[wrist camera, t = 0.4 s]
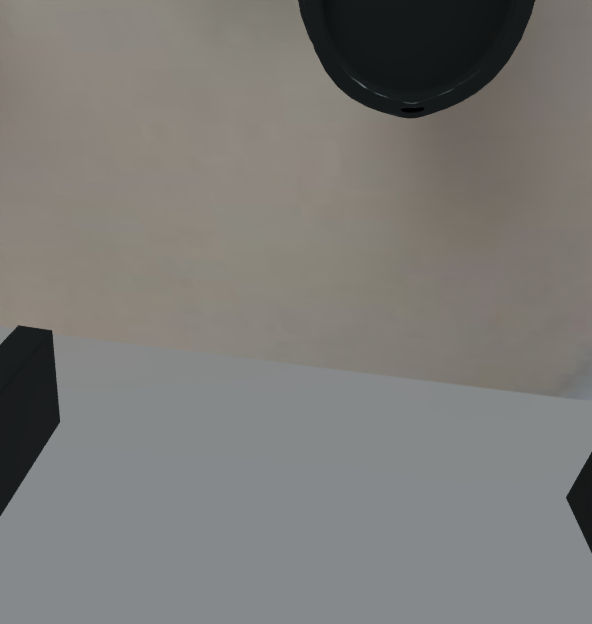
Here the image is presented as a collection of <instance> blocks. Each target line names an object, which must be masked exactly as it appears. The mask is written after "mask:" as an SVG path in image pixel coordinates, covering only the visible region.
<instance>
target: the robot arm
mask: <svg viewBox="0 0 592 624" xmlns="http://www.w3.org/2000/svg"><path fill="white" fill-rule="evenodd" d="M59 423H60V415H59V404H58V392H57V382H56V370H55V358H54V347H53V335H52V330H45V329H39V328H32V327H26V326H19V325H18V326H17V328H16V329H15V330H14V331H13V332H12V333H11V334H10V335H9V336H8V337H7V338H6V339H5V340H4V341H3V342H2V344H1V345H0V516H1V514H2V513H3V511H4V509H5V508H6V506H7V505H8V503H9V502H10V500H11V499H12V497H13V495H14V494H15V492H16V491H17V489H18V487H19V486H20V484H21V483H22V481H23V480H24V478H25V476H26V475H27V473H28V471H29V470H30V468H31V467H32V465H33V464H34V462H35V461H36V459H37V457H38V456H39V454H40V453H41V451H42V450H43V448H44V446H45V445H46V443H47V442H48V440H49V438H50V437H51V435H52V434H53V432H54V431H55V429H56V427H57V426H58V424H59ZM566 498H567V501H568V503H569V505H570V507H571V509H572V511H573V514H574V516H575V518H576V520H577V522H578V524H579V526H580V529H581V531H582V533H583V535H584V537H585V539H586V542H587V544H588V546H589V548H590V550H591V552H592V453H591V454H590V456H589V458H588V460H587V461H586V463H585V465H584V467H583V468H582V470H581V472H580V474H579V475H578V477H577V479H576V481H575V483H574V484H573V486H572V488H571V490H570V492H569V493H568V495H567V497H566Z"/></svg>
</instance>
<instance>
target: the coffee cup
mask: <svg viewBox="0 0 592 624" xmlns="http://www.w3.org/2000/svg"><path fill="white" fill-rule="evenodd" d="M298 2H299V7H300V13H301V17H302V19H303V22H304V25H305V27H306V30H307V33H308V36H309V38H310V40H311V42H312V43H313V45H314V49H315V52H316V54H317V55H318V57H319V59H320V61H321V63H322V65H323V67H324V69H325V71H326V72H327V74H328V75H329V76H330V78H331V79H332V80H333V81H334V83H335V84H336V85H337V87H339V88H340V89H341V90H342V91H343V92H345V93H346V94H347V95H348V96H349V97H351V98H352V99H354V100H356V101H357V102H359V103H361V104H363V105H365V106H367V107H369V108H372V109H374V110H377V111H380V112H383V113H387V114H390V115H394V116H398V117H403V118H418V117H422V116H426V115H429V114H432V113H435V112H438V111H441V110H444V109H446V108H449V107H451V106H453V105H455V104H458V103H460V102H462V101H464V100H465V99H467V98H469V97H470V96H472V95H474V94H475V93H477V92H478V91H479V90H481V89H482V88H483V87H484V86H485V85H487V84H488V83H489V82H490V81H491V80H493V79H494V77H495V76H496V75H497V74H498V73H499V71H500V70H501V69H502V68H503V67H504V65H505V64H506V63H507V62H508V60H509V59H510V57H511V55H512V54H513V52H514V50H515V48H516V47H517V45H518V43H519V42H520V40H521V38H522V36H523V33H524V31H525V28H526V26H527V23H528V21H529V19H530V16H531V14H532V10H533V6H534V2H535V0H298Z"/></svg>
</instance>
